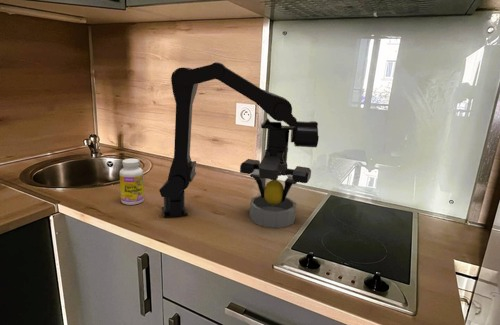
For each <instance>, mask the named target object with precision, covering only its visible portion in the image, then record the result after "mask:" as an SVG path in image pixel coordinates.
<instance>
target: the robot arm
mask: <svg viewBox="0 0 500 325" xmlns="http://www.w3.org/2000/svg"><path fill="white" fill-rule="evenodd" d="M170 77H171V78H170V81H171V82H170V83H171V88H172V90H171V91H172V95H173V98H174V100H175V101H174V102H175V122H174V123H175V124H174V149H173V150H174V152H173V159H172V162H171V165H170V168H169V172H168V176H167V180H166V181H165V182H164V183H163V185H162V186H161V187H160V188H159V193H160V196H161V197H162V198H163V206H162V207H161V211H162V214H163V218H173V217H184V216H188V211H187V209H186V206H185V205H186V204H185V203H186V202H185V199H186V198H185V196H186V195H185V193H186V192H185V190H186V189H187V188H188V187H189V185H190V184H191V182H193V180H194V179H195V177H196V175H197V172H196V165H197V161H196V160H193V161H192V158H191V140H192V117H193V104H194V101H195V98H196V95H197V91H198V87H199V84H201V83H202V84H203V83H206V82H210V81H213V80H218V81H219V82H221V83H223V84H224V85H226V86H227V87H229V88H231V89H232V90H234V91H235V92H238V93H239V94H241V95H242V96H244V97H246V98H247V99H249V100H251V101H252V102H254V103H255V104H256V105H258V106H259V107H260V108H261V109H262V110H263V111H264V112H265V113H266V114H268V116H269V117H271V118H272V119H273V120H274V121H270V119H269V118H266V119H265V120H264V121H263V122H262V123H260V128H261V129H265V130H266V129H267V135H266V136H267V137H266V147H265V148H266V149H265V151H264V156H263V158H262V160H261V161H260V160H258V159H252V158H251V159H250V158H248V159H245V160H244V161H243V162H242V163H241V164H240V166H239V173H240V174H245V175H249V176H250V178H253V179H254V180H255V181H256V182H255V183H256V184H257V187H258V190H259V194H260V195H261V197H262V198H264V190H265V187H266V183H267V182H266V180H267V179H268V180H270V181H272V180H277V181H278V178H279V177H281V176H285V177H286V179H285V180H284V186H283V188H284V192H283V197H282V202H284V201H285V199H286V197H287V196H288V193H289V192H290V190H291V188H292V186H293V185H297V183H300V184H301V183H302V184H307V183H308V182H309V181H310V179H311V178H312V169H311V168H310V167H305V166H300V165H297V166H295V168H294V169H293V168H288V162H287V161H288V152H289V141H290V143H293V144H294V147H298V148H299V147H301V148H317V147H318V144H319V137H320V136H319V128H318V126H319V123H318V122H317V121H314V120H313V121H300V120H298V119H297V118H296V117H295V116H294V115H293V107H292V103H291V102H290V101H289V100H288V99H287V98H285V97H283V96H280V95H279V94H275V93H272V92H270V91H267V90H264V89H262V88H260V87H259V86H258V85H256V84H254V83H252V82H251V81H249V80H248V79H246V78H244V77H243V76H242V75H239V74H238V73H236V72H235V71H233V70H231V69H229V68H228V67H226V66H225V64H223V63H222V62H217V61H216V62H213V63H211V64H207V65H203V66H198V67H195V68H191V67H179V68H176V69H175V70H173V72H172V74H171V76H170ZM282 122H284V123H285V124H286V125H283V124H282ZM289 137H290V138H289ZM289 139H290V140H289Z"/></svg>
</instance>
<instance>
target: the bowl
mask: <svg viewBox="0 0 500 325" xmlns="http://www.w3.org/2000/svg"><path fill="white" fill-rule="evenodd" d="M296 206H297V203H296V201H295V200H293V199H292V198H290V197H287V196H286V199H285V201H284V202H282V201H281V202H280V203H279V204H277V205H275V206H272V205H271V204H269V203H268V202H267V201H266V200H265V197H264V198H262V197H261V194H258V195H256V196H254V197H251V199H250V202H249V218H250V220H251V222H253V223H254V224H256V225H259V226H262V227H264V228H265V227H266V228H272V229H279V228H287V227H289V226H291V225H292V224H294V223H295V218H296Z"/></svg>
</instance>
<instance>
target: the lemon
mask: <svg viewBox="0 0 500 325" xmlns="http://www.w3.org/2000/svg"><path fill="white" fill-rule="evenodd" d="M283 192H284V185H283V184H282V182H280V181H279V180H278V179H277V180H269V181H268V182H266V184H265V190H264V197H265V200H266V201H267V202H268V203H269V204H271V205H272V206H275V205H277V204H279V203H280V202H281V201H282V197H283Z"/></svg>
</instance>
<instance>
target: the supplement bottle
mask: <svg viewBox="0 0 500 325" xmlns="http://www.w3.org/2000/svg"><path fill="white" fill-rule="evenodd" d="M140 165H141V164H140V159H137V158H125V159H123V160H122V166H123V167H122V168H121V169H120V170H119V188H120V190H119V191H120V201H121V203H122V204H124V205H128V206H129V205H130V206H131V205H133V206H134V205H138V204H141V203H142V202H144V200H145V185H144V184H145V182H144V170H143V169H142V168H141V167H140Z"/></svg>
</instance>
